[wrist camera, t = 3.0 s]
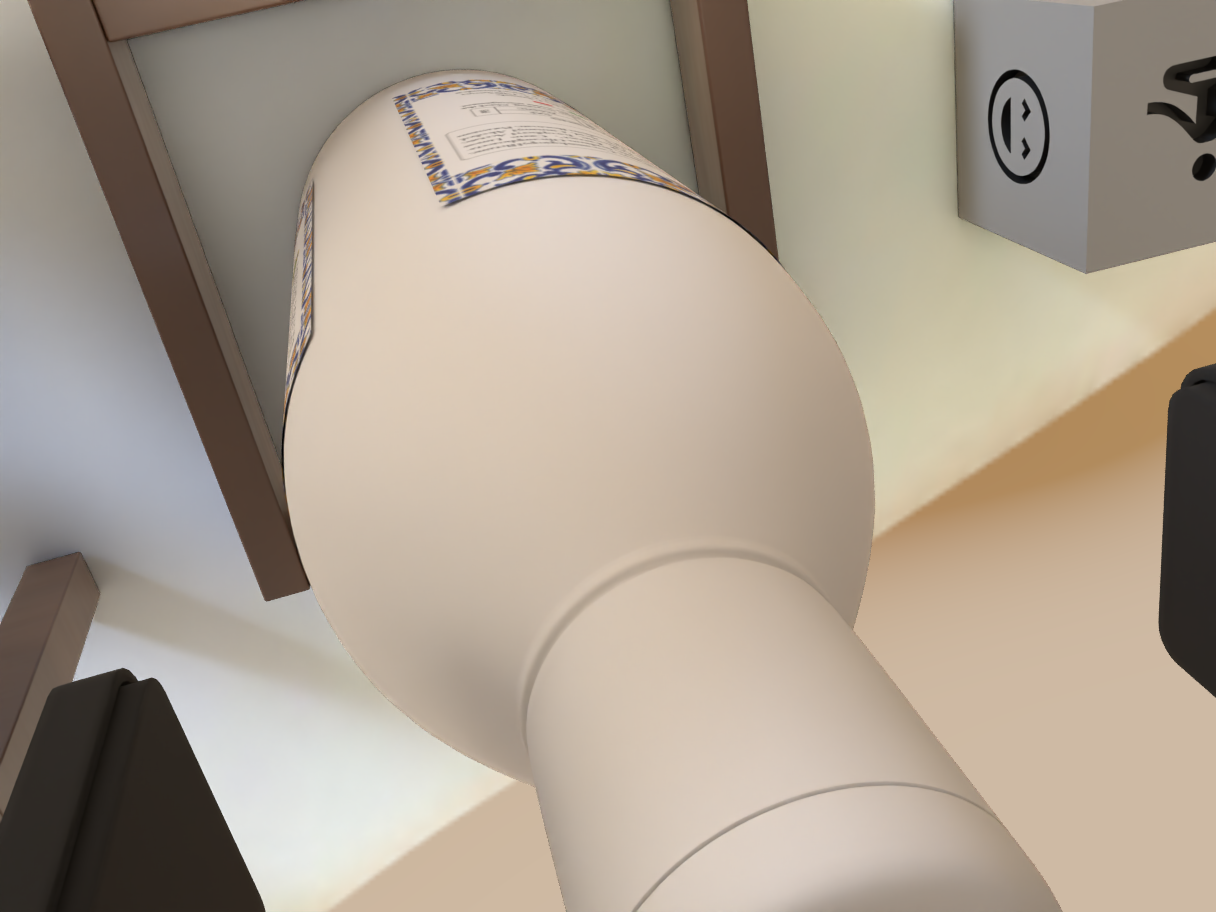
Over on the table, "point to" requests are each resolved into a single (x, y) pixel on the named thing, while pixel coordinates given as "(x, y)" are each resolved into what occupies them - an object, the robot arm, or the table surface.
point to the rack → (197, 322)
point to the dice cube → (1088, 125)
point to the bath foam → (609, 516)
